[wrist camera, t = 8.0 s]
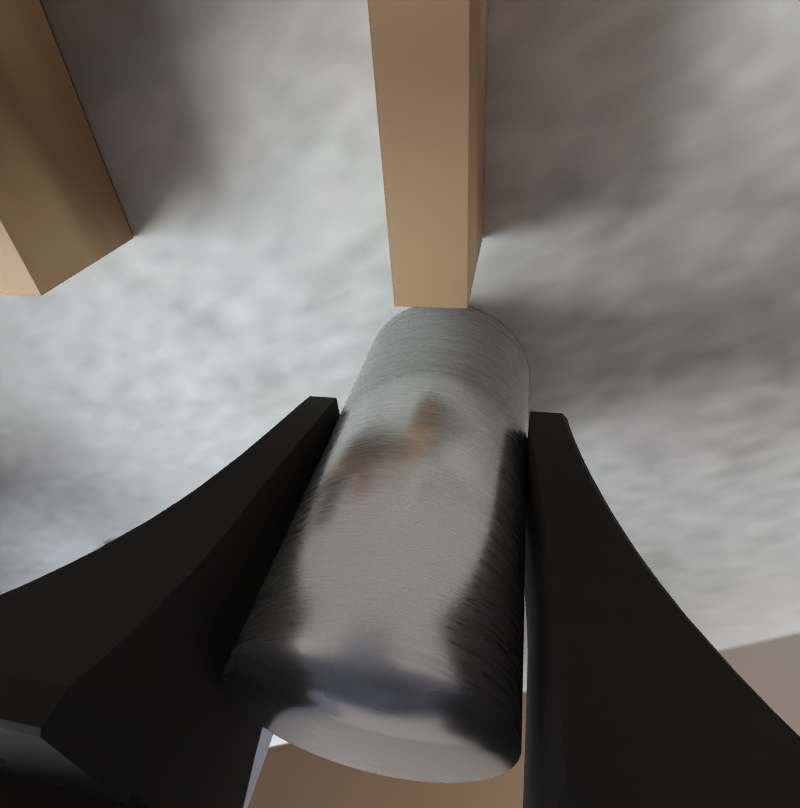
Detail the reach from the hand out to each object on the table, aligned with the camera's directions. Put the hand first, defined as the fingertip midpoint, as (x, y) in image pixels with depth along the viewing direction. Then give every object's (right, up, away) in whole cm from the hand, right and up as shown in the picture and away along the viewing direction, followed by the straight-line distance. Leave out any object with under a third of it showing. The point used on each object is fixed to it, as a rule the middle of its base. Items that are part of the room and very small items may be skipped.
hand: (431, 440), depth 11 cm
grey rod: (0, +2, +2) cm, 2 cm away
